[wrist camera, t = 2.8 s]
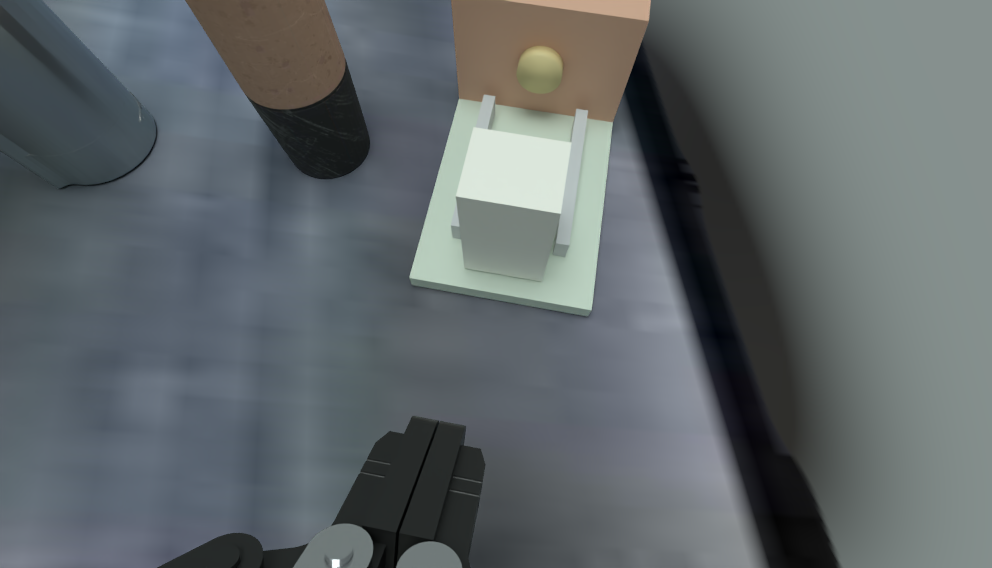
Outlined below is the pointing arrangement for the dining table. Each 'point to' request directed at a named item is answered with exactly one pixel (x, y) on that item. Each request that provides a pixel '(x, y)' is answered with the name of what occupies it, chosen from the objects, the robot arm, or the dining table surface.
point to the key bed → (535, 131)
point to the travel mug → (292, 77)
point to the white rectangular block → (511, 202)
